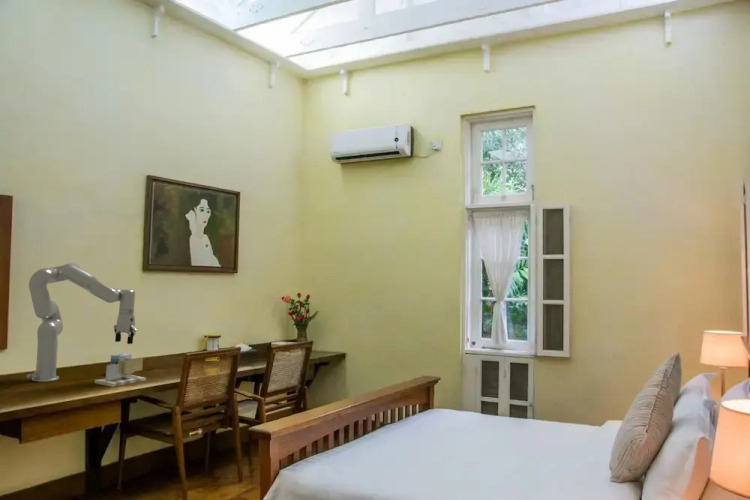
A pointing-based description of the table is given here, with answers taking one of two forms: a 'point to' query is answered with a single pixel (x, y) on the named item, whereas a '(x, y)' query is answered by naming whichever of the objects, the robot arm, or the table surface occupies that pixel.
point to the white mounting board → (121, 381)
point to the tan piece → (131, 365)
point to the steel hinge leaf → (115, 372)
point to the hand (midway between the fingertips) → (123, 342)
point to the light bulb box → (119, 357)
